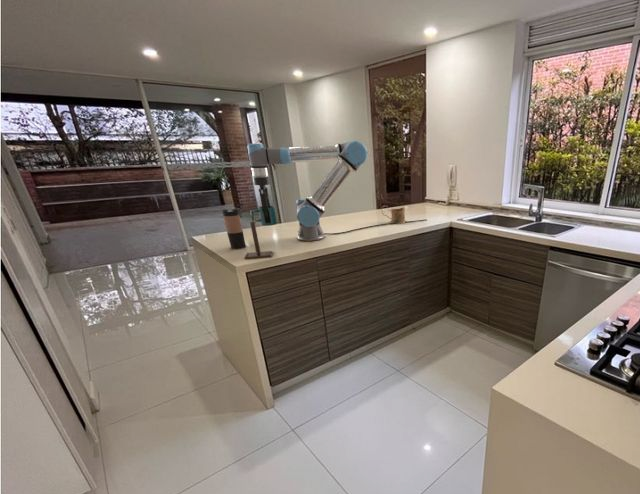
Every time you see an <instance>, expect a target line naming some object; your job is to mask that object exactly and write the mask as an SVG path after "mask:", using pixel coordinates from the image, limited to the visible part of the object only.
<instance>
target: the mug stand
mask: <svg viewBox="0 0 640 494" xmlns="http://www.w3.org/2000/svg"><path fill="white" fill-rule="evenodd" d="M256 221H257V218H254V221H252V220H251V221H250V222H249V224H250V229H251V233H252V238H253V243H254V248H255V251H254V252H247V253H246V255H245V256H244V259H245V260H252V259H253V260H254V259H264V258H272V256H273V253H274V252H273V250H265V251H261V247H260V243H259V238H258V231H257V228H256V224H257V222H256Z"/></svg>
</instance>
